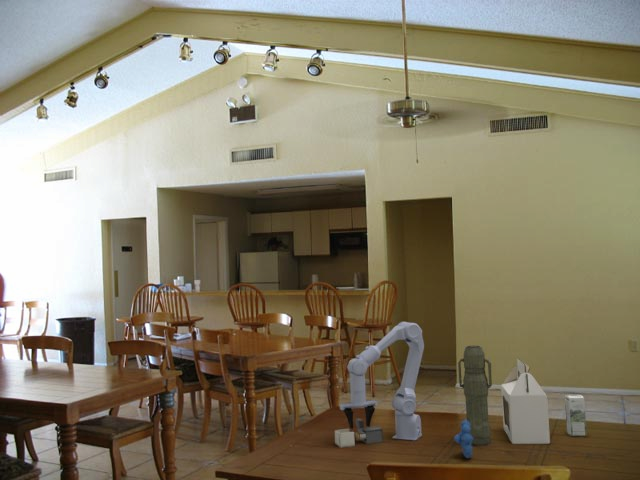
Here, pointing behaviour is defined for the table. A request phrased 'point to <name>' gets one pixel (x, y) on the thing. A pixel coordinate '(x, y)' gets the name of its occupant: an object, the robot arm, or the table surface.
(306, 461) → the table surface
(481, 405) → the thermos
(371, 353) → the robot arm
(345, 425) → the table surface
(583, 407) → the syrup box
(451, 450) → the table surface
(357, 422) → the silver cylinder with handle
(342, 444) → the ceramic socket
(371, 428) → the charcoal sleeve
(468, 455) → the grapes
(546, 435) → the gable box
